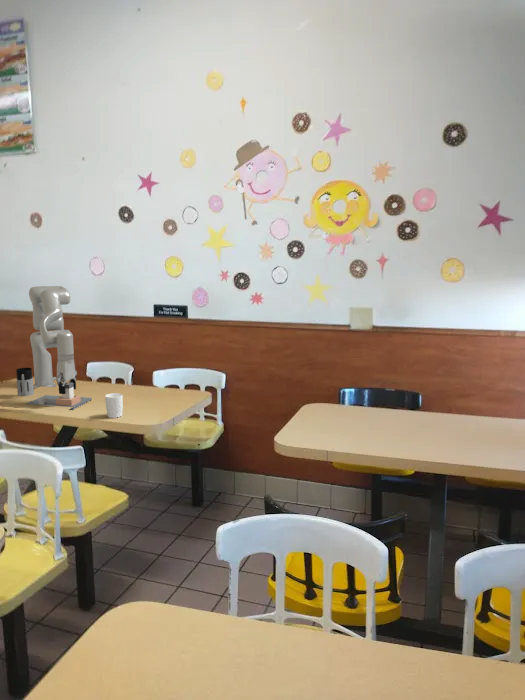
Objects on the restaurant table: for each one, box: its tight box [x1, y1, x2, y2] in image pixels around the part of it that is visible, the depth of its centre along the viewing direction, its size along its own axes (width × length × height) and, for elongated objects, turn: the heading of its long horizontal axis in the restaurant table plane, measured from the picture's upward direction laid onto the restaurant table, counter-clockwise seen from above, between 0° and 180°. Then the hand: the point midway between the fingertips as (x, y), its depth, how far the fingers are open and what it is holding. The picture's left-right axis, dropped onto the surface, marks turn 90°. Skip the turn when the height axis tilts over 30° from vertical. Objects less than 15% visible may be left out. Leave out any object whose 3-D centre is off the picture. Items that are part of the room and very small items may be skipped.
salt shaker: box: [61, 381, 75, 399], centre depth 270 cm, size 4×4×10 cm
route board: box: [25, 394, 92, 411], centre depth 274 cm, size 18×26×4 cm
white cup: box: [104, 392, 124, 419], centre depth 254 cm, size 8×8×10 cm
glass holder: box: [15, 367, 35, 397], centre depth 284 cm, size 9×14×15 cm, turn 18°
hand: (67, 391), depth 269 cm, fingers open, 9 cm apart
